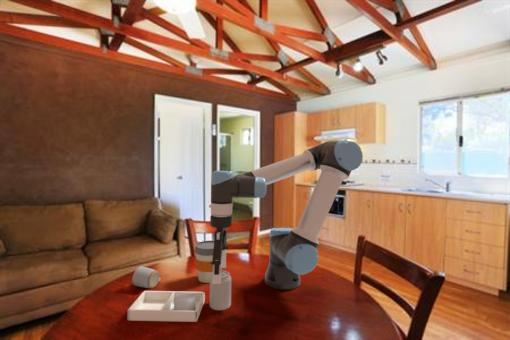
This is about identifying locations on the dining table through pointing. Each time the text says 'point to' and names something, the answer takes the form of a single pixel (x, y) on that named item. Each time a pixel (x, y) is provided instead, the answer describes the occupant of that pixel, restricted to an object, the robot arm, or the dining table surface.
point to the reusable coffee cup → (204, 260)
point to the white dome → (184, 302)
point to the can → (221, 292)
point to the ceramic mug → (145, 277)
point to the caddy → (163, 307)
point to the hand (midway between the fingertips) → (219, 274)
